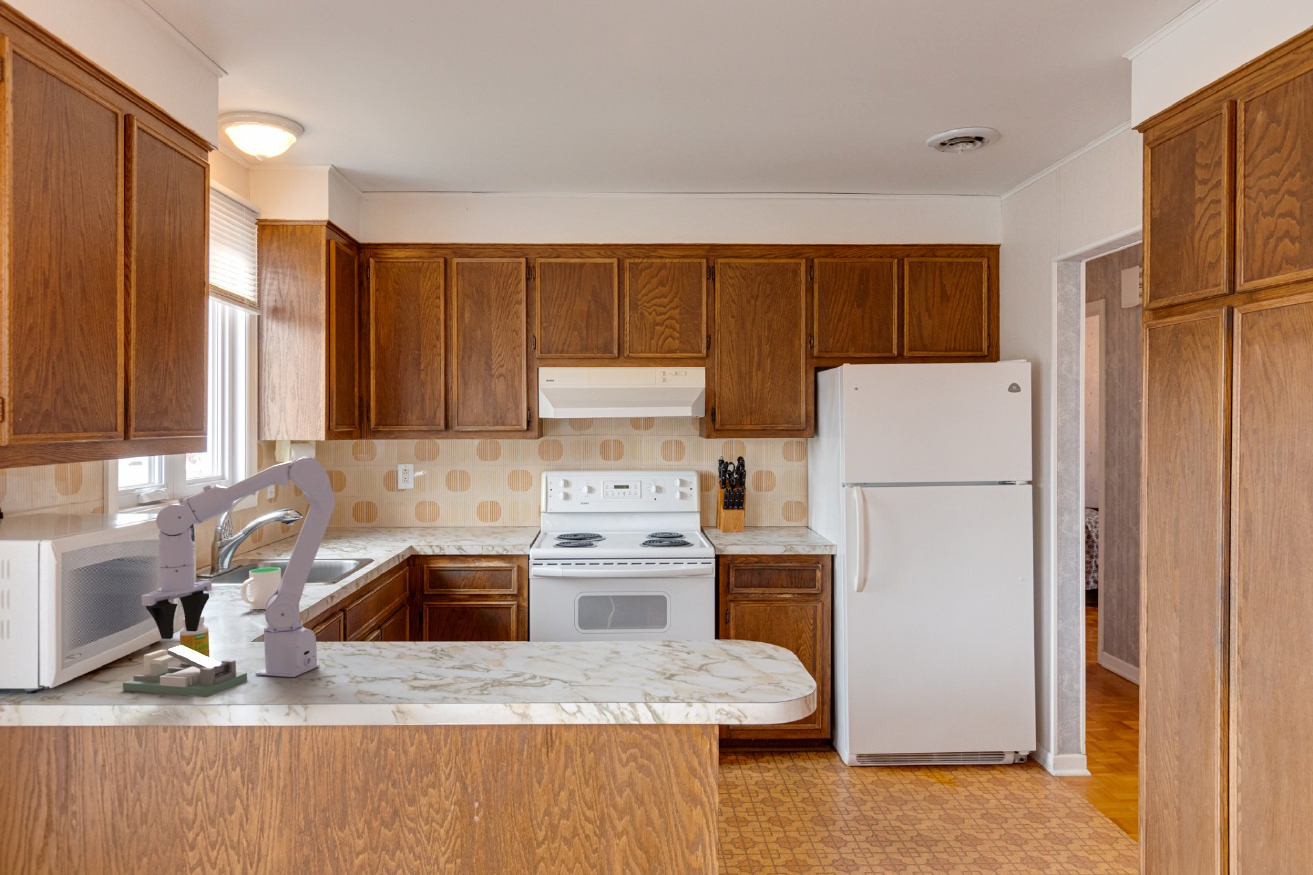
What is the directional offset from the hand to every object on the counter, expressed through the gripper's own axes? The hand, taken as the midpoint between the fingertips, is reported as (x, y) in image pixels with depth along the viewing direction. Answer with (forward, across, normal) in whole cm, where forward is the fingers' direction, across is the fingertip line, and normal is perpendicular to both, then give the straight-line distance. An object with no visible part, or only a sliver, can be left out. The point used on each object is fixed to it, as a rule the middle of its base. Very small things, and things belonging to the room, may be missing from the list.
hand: (179, 634), depth 161 cm
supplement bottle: (+10, -14, -11) cm, 20 cm away
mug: (+10, -62, -37) cm, 73 cm away
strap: (+6, 0, +4) cm, 7 cm away
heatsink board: (+10, 0, +1) cm, 10 cm away
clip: (+8, 0, -5) cm, 10 cm away
